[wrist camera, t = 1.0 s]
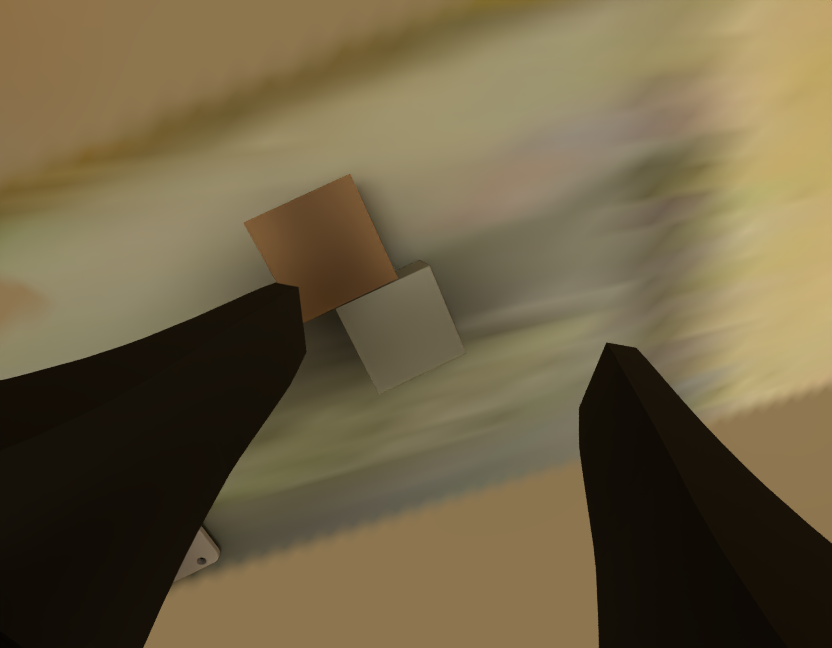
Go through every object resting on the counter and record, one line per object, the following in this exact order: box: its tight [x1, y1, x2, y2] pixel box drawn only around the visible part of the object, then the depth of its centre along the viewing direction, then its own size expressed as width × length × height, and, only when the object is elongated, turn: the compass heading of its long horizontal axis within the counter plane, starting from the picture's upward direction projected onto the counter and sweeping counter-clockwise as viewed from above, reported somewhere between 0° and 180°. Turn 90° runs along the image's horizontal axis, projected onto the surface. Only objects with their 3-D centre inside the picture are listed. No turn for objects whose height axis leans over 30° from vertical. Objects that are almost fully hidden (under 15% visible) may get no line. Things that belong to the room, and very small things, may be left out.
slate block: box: [335, 260, 466, 394], centre depth 22 cm, size 5×5×3 cm
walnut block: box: [244, 174, 398, 323], centre depth 19 cm, size 4×4×6 cm
